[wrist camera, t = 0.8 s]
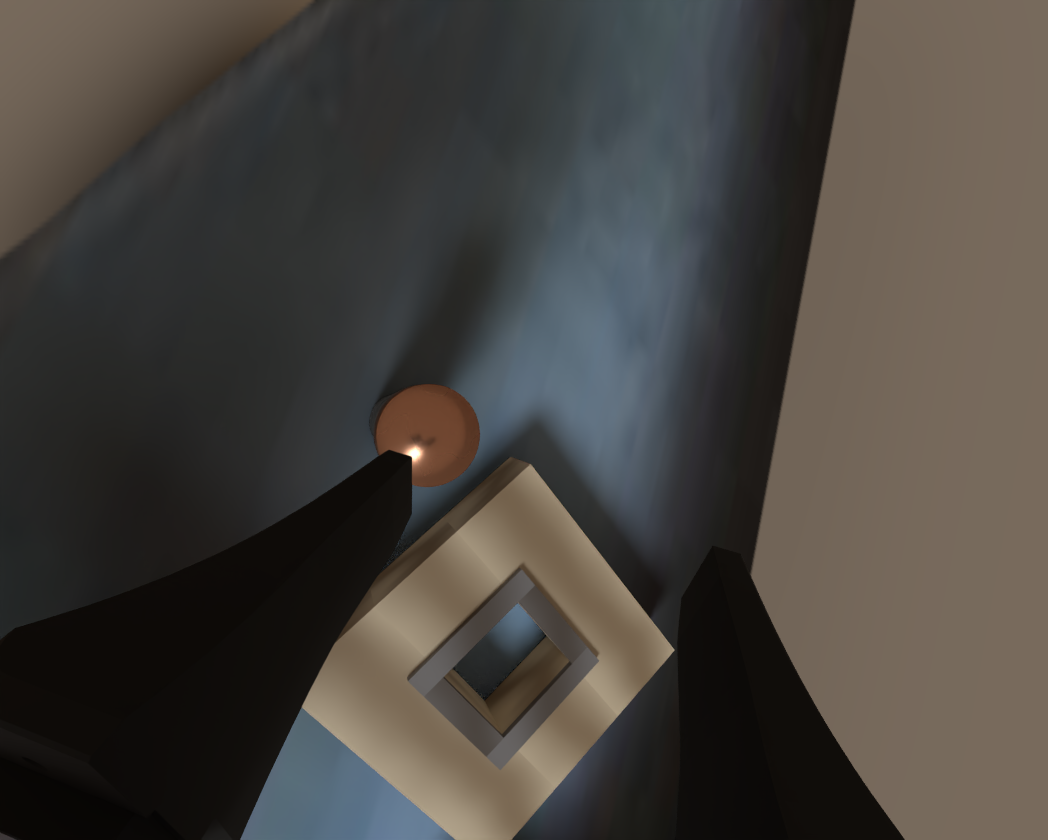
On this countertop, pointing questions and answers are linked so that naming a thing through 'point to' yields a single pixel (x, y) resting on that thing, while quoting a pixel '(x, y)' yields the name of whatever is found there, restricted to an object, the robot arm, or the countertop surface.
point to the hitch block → (455, 628)
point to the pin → (427, 431)
